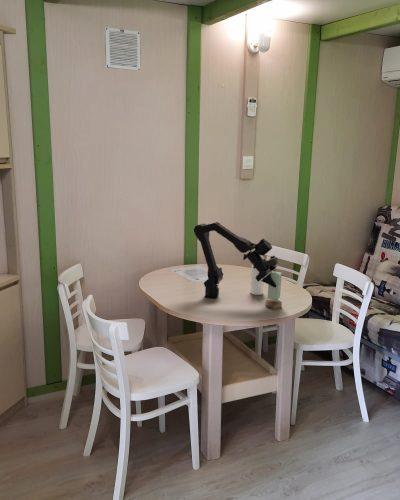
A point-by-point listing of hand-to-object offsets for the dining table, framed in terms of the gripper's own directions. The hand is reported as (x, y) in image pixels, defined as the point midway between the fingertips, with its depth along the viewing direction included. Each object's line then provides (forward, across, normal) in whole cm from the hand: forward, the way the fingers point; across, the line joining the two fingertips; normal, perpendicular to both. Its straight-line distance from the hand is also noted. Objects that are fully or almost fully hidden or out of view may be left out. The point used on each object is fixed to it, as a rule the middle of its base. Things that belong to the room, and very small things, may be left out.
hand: (277, 285), depth 235 cm
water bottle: (-3, +18, +19) cm, 26 cm away
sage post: (+4, 0, +6) cm, 7 cm away
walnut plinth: (+7, 0, +9) cm, 11 cm away
